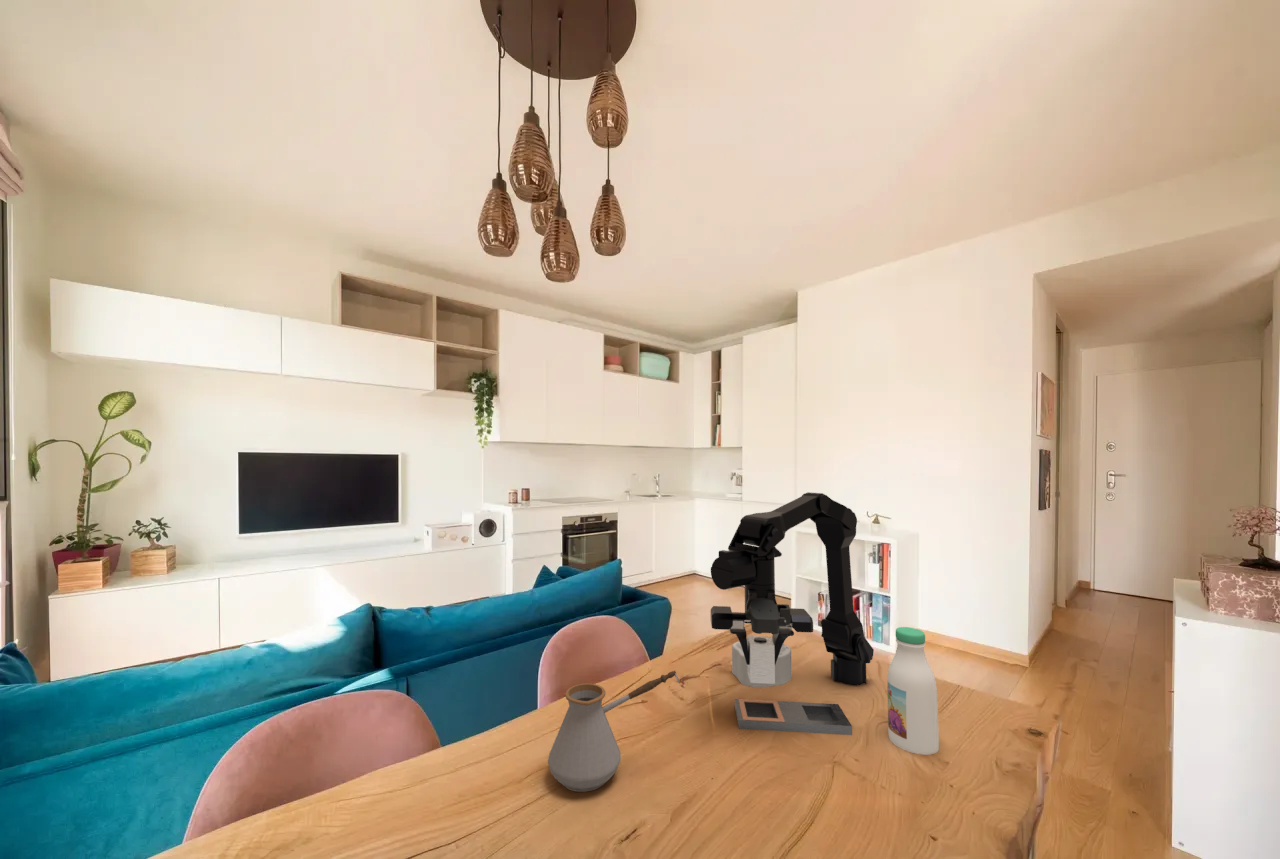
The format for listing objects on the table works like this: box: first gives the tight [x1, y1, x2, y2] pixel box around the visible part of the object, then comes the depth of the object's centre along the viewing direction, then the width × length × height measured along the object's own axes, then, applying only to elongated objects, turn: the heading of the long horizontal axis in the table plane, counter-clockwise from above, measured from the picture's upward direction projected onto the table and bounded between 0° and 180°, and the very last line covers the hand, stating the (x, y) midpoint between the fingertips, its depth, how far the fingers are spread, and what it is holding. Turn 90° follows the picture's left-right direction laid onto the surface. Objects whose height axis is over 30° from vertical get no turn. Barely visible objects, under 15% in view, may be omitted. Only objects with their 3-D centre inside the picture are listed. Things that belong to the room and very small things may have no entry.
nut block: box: [747, 635, 775, 684], centre depth 94 cm, size 4×4×7 cm
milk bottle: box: [887, 626, 940, 756], centre depth 86 cm, size 8×8×20 cm
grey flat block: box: [734, 698, 853, 736], centre depth 93 cm, size 20×8×3 cm, turn 85°
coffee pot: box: [547, 670, 681, 793], centre depth 79 cm, size 21×12×15 cm, turn 101°
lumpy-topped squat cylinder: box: [731, 641, 793, 688], centre depth 112 cm, size 10×13×9 cm
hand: (760, 664), depth 94 cm, fingers closed on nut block, 4 cm apart
